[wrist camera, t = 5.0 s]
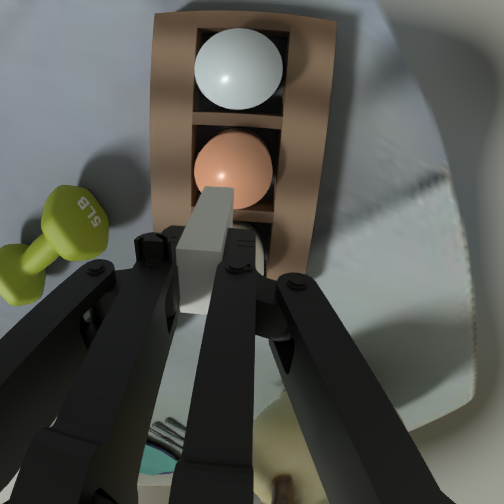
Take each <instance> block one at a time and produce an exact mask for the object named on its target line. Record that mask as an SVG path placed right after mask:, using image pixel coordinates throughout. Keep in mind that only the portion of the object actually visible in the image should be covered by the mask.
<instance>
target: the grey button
mask: <svg viewBox="0 0 504 504" xmlns="http://www.w3.org/2000/svg"><path fill="white" fill-rule="evenodd" d="M194 69H195V78H196V82H197V84H198V86H199V88H200V90H201V91H202V93H203V94H204V95H205V96H206V97H207V98H208V99H209V100H210V101H212V102H213V103H215V104H217V105H219V106H221V107H224V108H228V109H235V110H236V109H248V108H252V107H254V106H257V105H259V104H261V103H263V102H264V101H266V100H267V99H268V98H269V97H270V96H271V95H272V94H273V93H274V92H275V90H276V89H277V87H278V85H279V83H280V81H281V77H282V72H283V65H282V59H281V56H280V53H279V51H278V49H277V48H276V46H275V45H274V44H273V43H272V41H270V40H269V39H268V38H267V37H266V36H264V35H263V34H261V33H259V32H256V31H254V30H250V29H243V28H235V29H228V30H225V31H222V32H220V33H218V34H216V35H214V36H213V37H211V38H210V39H209V40H208V41H207V42H206V43H205V44H204V45H203V46H202V47H201V49H200V51H199V53H198V55H197V57H196V61H195V67H194Z"/></svg>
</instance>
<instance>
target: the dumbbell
mask: <svg viewBox="0 0 504 504" xmlns="http://www.w3.org/2000/svg"><path fill="white" fill-rule="evenodd" d="M41 228H42V231H43V233H42V234H41V235H40V236H39V237H38V238H37V239H35V240H34V241H33V243H32V244H31V245H30V246H28V245H27V244H8V245H4V246H3V247H1V248H0V295H1V296H2V297H3V298H4V299H5V301H6V302H7V303H9V304H10V305H12V306H21V305H27V304H31V303H33V302H36V301H37V300H38V299H39V298H41V296H42V294H43V291H44V286H45V278H46V270H45V268H46V267H47V266H49V265H50V264H51V263H52V262H53V261H54V260H56V259H57V258H58V257H59V256H61V257H63V258H64V259H66V260H69V261H82V260H89V259H93V258H95V257H97V256H98V255H100V254H101V253H103V252H104V251H105V250H106V248H107V244H108V235H109V219H108V216H107V214H106V213H105V211H104V210H103V208H102V207H101V206H100V204H99V203H98V201H97V200H96V199H95V197H94V196H93V195H92V193H91V192H90V191H88V190H87V189H85V188H82V187H77V186H71V185H61V186H58V187H57V188H56V189H55V190H54V191H53V192H52V193H51V194H50V195H49V196H48V198H47V200H46V203H45V206H44V209H43V214H42V219H41Z"/></svg>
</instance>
